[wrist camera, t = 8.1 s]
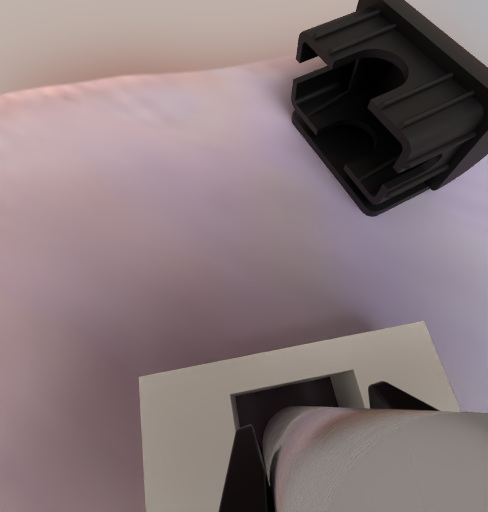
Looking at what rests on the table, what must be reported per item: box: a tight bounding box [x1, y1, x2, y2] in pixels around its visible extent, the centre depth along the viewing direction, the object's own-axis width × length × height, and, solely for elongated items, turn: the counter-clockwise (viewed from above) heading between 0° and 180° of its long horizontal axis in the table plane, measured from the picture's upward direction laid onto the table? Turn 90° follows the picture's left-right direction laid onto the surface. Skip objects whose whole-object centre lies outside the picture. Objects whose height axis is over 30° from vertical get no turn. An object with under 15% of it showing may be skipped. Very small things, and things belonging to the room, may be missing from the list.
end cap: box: [291, 0, 488, 217], centre depth 18 cm, size 10×7×7 cm
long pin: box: [262, 406, 488, 512], centre depth 8 cm, size 3×3×12 cm
